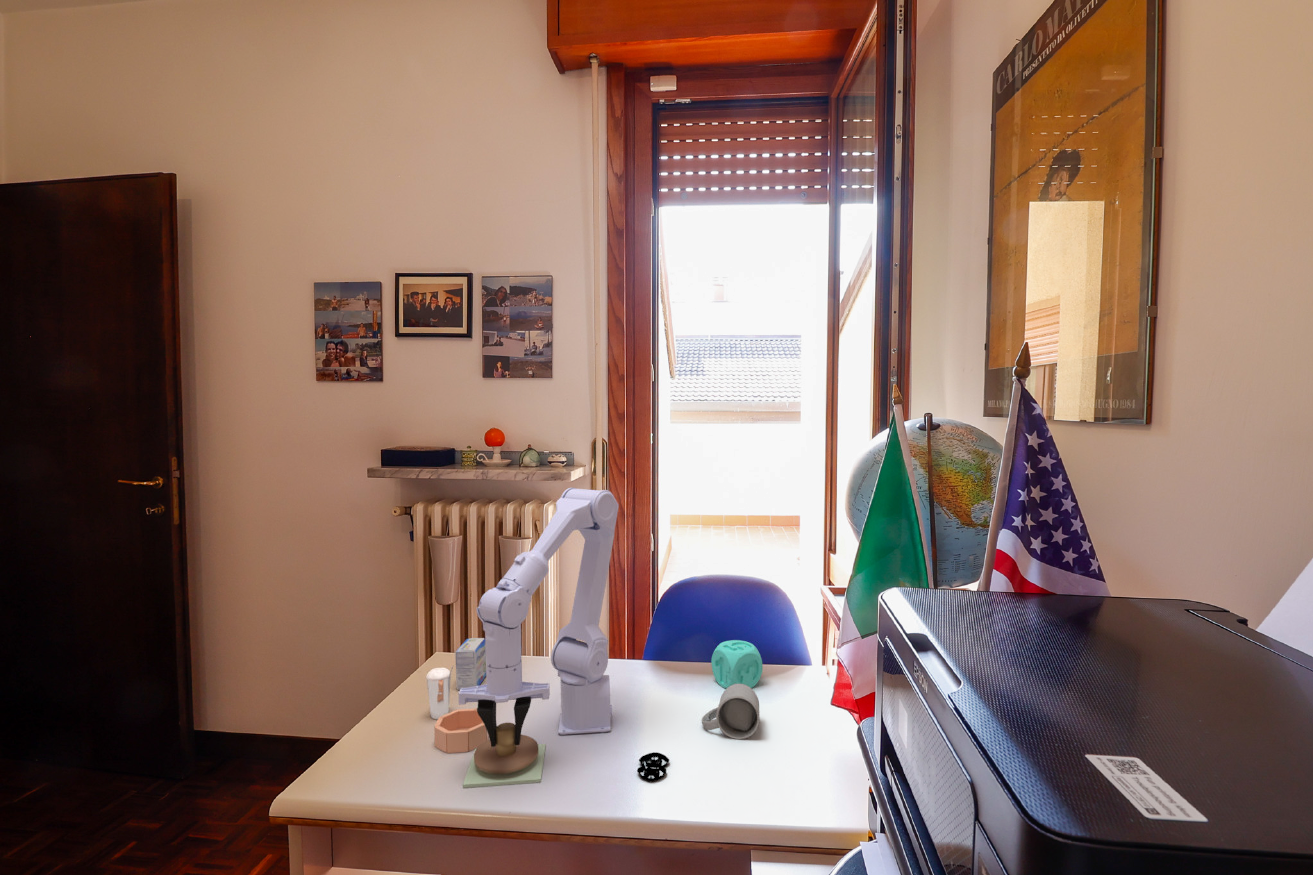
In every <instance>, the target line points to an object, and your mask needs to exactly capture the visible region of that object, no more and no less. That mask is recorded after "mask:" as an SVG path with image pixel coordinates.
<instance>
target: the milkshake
mask: <svg viewBox="0 0 1313 875" xmlns="http://www.w3.org/2000/svg"><path fill="white" fill-rule="evenodd" d="M453 668H454V665H452V666H451V668H450V670H449V669H448V668H446V667H434V668H432V669H431V670H429V672H428V673H427V674H426V677H425V679H426V685H427V693H428V701H429V703H428V704H429V711H430V718H432V719H433V720H438V719H439V717H441V716H443V715H445V714H448V713H450V712H449V711H450V696H451V695H450V694H451V691H450V690H451V678H452V674H451V673H452V670H453Z"/></svg>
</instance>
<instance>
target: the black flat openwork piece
mask: <svg viewBox="0 0 1313 875" xmlns="http://www.w3.org/2000/svg"><path fill="white" fill-rule="evenodd" d="M648 761H649V762H648ZM658 761H659V762H658ZM663 761H664V762H663ZM638 762H639V763H640V764H641V766H640V767H638V768H637V770H636V772H637V773H638V774H639V776H640V778H641V779H642V780H644V781H646V782H651V783H654V782H657V781H658V780H661V779H663V778H664V777H665V774H667V769H666V767H667V766H668V763H669V762H670V759H669V757H667V756H666V755H665V754H663V753H660V752H649V753H647V754H644V755H641V757H640V758H639V759H638ZM661 773H662V774H661Z"/></svg>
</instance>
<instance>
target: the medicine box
mask: <svg viewBox="0 0 1313 875" xmlns="http://www.w3.org/2000/svg"><path fill="white" fill-rule="evenodd" d="M454 654H455V655H454V656H455V657H454V658H455V680H456V681H455V682H456V691H460V689H461V688H469V687H475V686H480V685H482V683H483V682H484V680H485V678H486V642H485V638H484V637H472V638H466V639H465V640H464V642H463V643H462V644H461V645H460V646H459V647H458V648H457V649H456V650H455V652H454Z"/></svg>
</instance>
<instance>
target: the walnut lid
mask: <svg viewBox="0 0 1313 875" xmlns="http://www.w3.org/2000/svg"><path fill="white" fill-rule="evenodd" d="M474 752H475V753H474ZM474 752H473V754H474V763H475V765H476V767H477V768H478V769H479V770H481V771H483V772H486V773H491V774H506V773H512V772H516V771H519V770H521V769H523V768H525V767H527V766H529V765H530V764H532V763H533V762H534V761H535V759H536V758H537V756H538V742H537V740H536V739H534V738H533V737H530V736H528V735H525V734H521V740H520V744H519V745H515V723H513V722H503V723H500V724H498V725H497V727H496V746H495V747H491V742H490V738H488V740H487V741H485V742H484V743H482V744H481V745H480V746H479V747H478V748H477V749H476V751H475V750H474Z"/></svg>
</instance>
